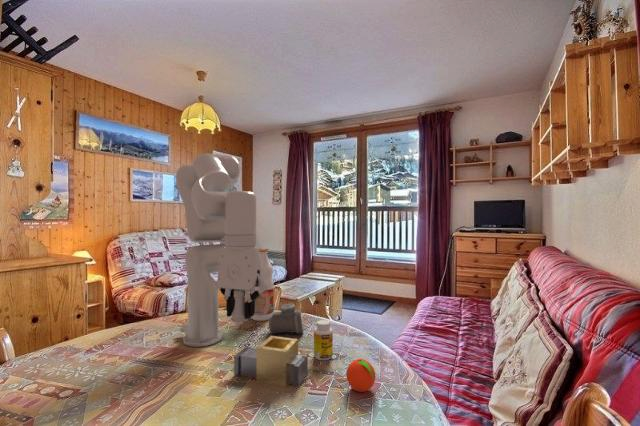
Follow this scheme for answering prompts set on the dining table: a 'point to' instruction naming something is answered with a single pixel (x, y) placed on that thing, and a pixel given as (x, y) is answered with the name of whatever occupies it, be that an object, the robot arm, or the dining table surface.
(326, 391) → the dining table surface
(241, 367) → the valve body
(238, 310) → the rook chess piece
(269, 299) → the fruit juice
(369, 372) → the clementine
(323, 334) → the supplement bottle
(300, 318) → the pipe fitting
